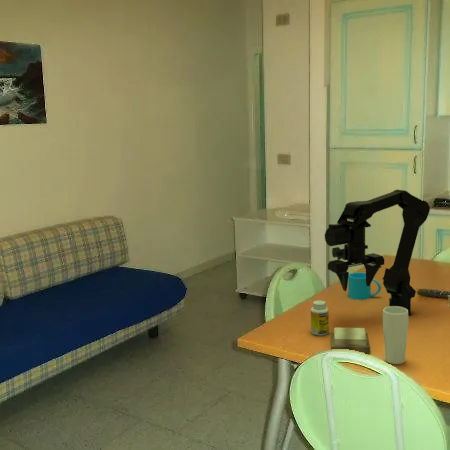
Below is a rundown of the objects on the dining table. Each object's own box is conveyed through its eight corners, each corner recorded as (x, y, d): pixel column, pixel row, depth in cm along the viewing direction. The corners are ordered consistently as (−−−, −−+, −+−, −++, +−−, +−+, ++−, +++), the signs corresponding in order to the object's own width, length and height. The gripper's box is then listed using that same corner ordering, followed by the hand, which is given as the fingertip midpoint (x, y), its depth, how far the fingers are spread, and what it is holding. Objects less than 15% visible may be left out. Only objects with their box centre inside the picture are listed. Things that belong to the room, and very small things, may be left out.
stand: (367, 339, 179) (367, 326, 179) (370, 353, 169) (370, 340, 168) (331, 338, 181) (331, 326, 181) (331, 353, 171) (331, 340, 170)
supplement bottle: (319, 337, 183) (318, 306, 181) (307, 332, 187) (306, 302, 185) (332, 333, 186) (332, 302, 184) (320, 328, 190) (319, 298, 188)
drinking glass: (379, 357, 166) (379, 306, 163) (402, 355, 167) (402, 305, 164) (387, 367, 160) (387, 315, 157) (411, 365, 160) (412, 313, 157)
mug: (346, 298, 218) (345, 277, 217) (351, 292, 225) (351, 271, 224) (378, 301, 213) (378, 280, 211) (382, 294, 220) (383, 274, 219)
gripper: (363, 233, 199) (364, 278, 202) (317, 241, 191) (318, 287, 194) (385, 239, 189) (385, 286, 192) (337, 247, 181) (338, 295, 184)
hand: (356, 288), depth 191 cm, fingers open, 9 cm apart
